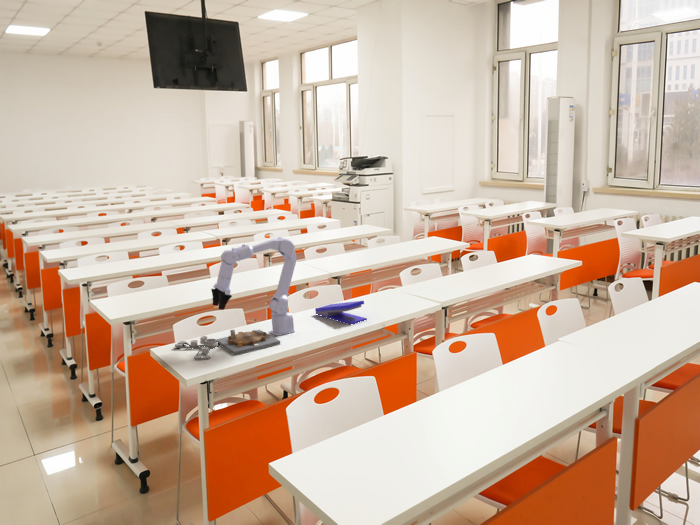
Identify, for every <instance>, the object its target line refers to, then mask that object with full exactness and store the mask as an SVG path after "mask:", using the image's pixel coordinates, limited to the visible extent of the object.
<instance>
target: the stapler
mask: <svg viewBox="0 0 700 525" xmlns="http://www.w3.org/2000/svg"><path fill="white" fill-rule="evenodd" d="M363 305H365V301H364V300H357V301H347V302H339V303H338V302H337V303H331V304H327V305H322V306H319V307H316V308H314V310H315V315H316V314H318V315H322V316H324V317H327V318H326V319H328V318H331V319H330V320H332V319H334V320H333V321H335V320H338V321H337V322H339V321H341V322H340V323H343V322H345V323H344V324H346V323H348V324H347V325H350V324H353V325H356V324H359V323H361V322H360V321H363V322H365V321H364V320H366V321H367V319H368V318H367V317H363V316H360V315H355V314H351V313H347V312H348V311H352V310H355V309H359V308H362V306H363ZM324 317H323V318H324ZM358 322H359V323H358ZM355 323H356V324H355Z"/></svg>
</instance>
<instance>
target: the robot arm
mask: <svg viewBox="0 0 700 525" xmlns="http://www.w3.org/2000/svg"><path fill="white" fill-rule="evenodd" d="M295 247H296V246H295V244H294V243H293V242H292V240H290V239H287V238H284V237H277V238H272V239H269V240H265V241H264V242H259V243H257V244H255V245H254V244H253V245H252V246H251V245H249V244H245V243H244V244H242V245H241V246H238V247H236V248H235V247H232V248H231V249H226V250H224V251H223V252H222V254H220V259H221V263H220V267H219V271H218V274H217V275H218V276H217V280H216V283H214V285H213V288H211V289H210V290H211V294H212V295H211V296H212V306H218V309H219V310H222V311H224V310H225V308H226V306H227V304H228V302H229V301H230V299H232V298H233V297H232V296H233V295H231V289H230V287H231V281H232V277H233V272H234V266H235V265H236V263H237V262H240V261H242V260H246V259H249V258H252V257H253V255H255V254H256V253H260V252H265V251H267V250H275V251H277V252H278V253H280V254H281V256H282V258H283V259H284V262H283V265H282V270H281V273H280V277H279V281H278V284H277V287H276V292H275V293H274V294H273V296H272V298H271V300H270V301H269V304H268V307H269V309H270V310H271V314H270V316H271V326H272V330H270V331H269V333H270V334H272V335H274V336H276V337H278V336H282V335H287V334H291V333H295V326H294V317H293V314H292V313H291V312H289V311H288V310H289V307H288V306H289V305H288V304H289V298H288V294H289V290H290V286H291V282H292V279H293V275H294V271H295V268H296V267H295V266H296V264H297V259H298V256H297V253H296V250H295Z"/></svg>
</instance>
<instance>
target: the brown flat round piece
mask: <svg viewBox="0 0 700 525" xmlns="http://www.w3.org/2000/svg"><path fill="white" fill-rule="evenodd" d="M256 330H257V329H256ZM256 330H255V329H254V330H251V331H252V332H251V331H244V332H243V331H238V332H237V334H236V330H235V329H230V335H229V336H227V337H228V344H229V345H230V344H236V345H238V346H242V345H249V344H253V345H254V344H257V343H258V342H260V341H266V340H267V336H266V333H267V332H265V331H263V332H262V333H261V332H256Z"/></svg>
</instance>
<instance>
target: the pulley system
mask: <svg viewBox="0 0 700 525" xmlns="http://www.w3.org/2000/svg"><path fill="white" fill-rule="evenodd" d="M199 339H200V342H199V343H200V344H199V345H198V340H190V344H189V342H187V341H185V340H180V341H179V342H177V343H175V344H174V347H176V349H185V348H191V349H190V350H198V349H200V350H198V352H197V353H196V354H195V355H194V356H193V360H194V361H207V360H210V359H211V355H208V353H209V354H210V351H211V350H210V349H212V350H214V349H216V348H215V347H217V346H218V345H219V344H218V343H217V342H216V341H217V340H216V339H217V338H208V336H207V335H204V336H201V337H200V338H199ZM184 344H186V345H187V346H186V345H184ZM183 345H184V346H183ZM188 345H189V346H188ZM199 346H205V347H199ZM192 348H193V349H192ZM213 348H214V349H213ZM217 348H218V347H217ZM201 349H202V350H201ZM200 351H201V352H200ZM199 352H200V353H201V355H199V354H200V353H199Z"/></svg>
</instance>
